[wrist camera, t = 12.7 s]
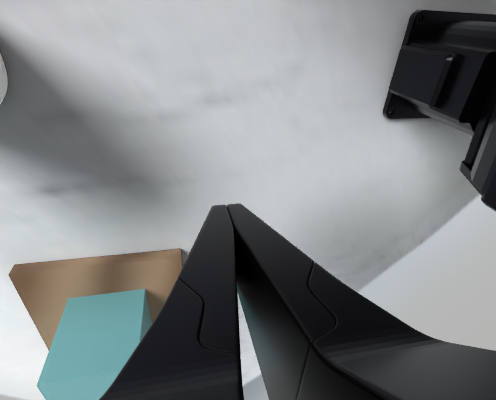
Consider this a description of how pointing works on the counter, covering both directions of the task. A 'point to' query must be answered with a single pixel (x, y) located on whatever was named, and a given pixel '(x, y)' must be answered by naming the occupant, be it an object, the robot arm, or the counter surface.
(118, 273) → the base board
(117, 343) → the teal cube
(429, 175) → the counter surface
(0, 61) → the can
